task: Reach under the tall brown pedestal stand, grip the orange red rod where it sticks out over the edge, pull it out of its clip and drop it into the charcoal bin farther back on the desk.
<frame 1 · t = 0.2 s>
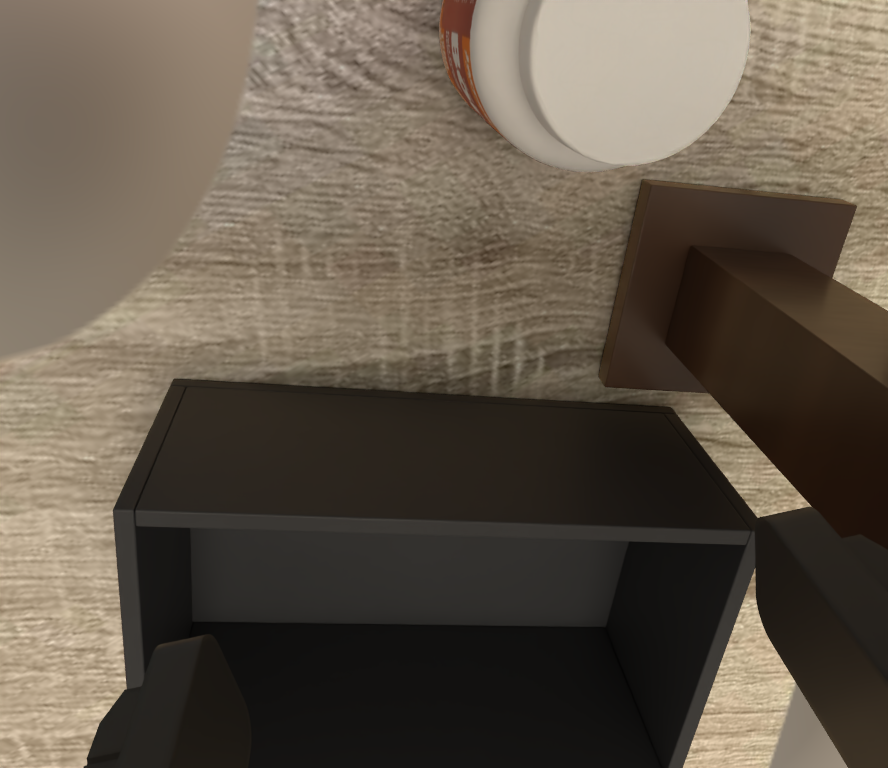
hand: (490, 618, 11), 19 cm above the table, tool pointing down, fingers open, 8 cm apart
bin: (418, 518, 34), on the table
pill bottle: (528, 29, 26), on the table
brown pedestal stand: (643, 285, 30), on the table
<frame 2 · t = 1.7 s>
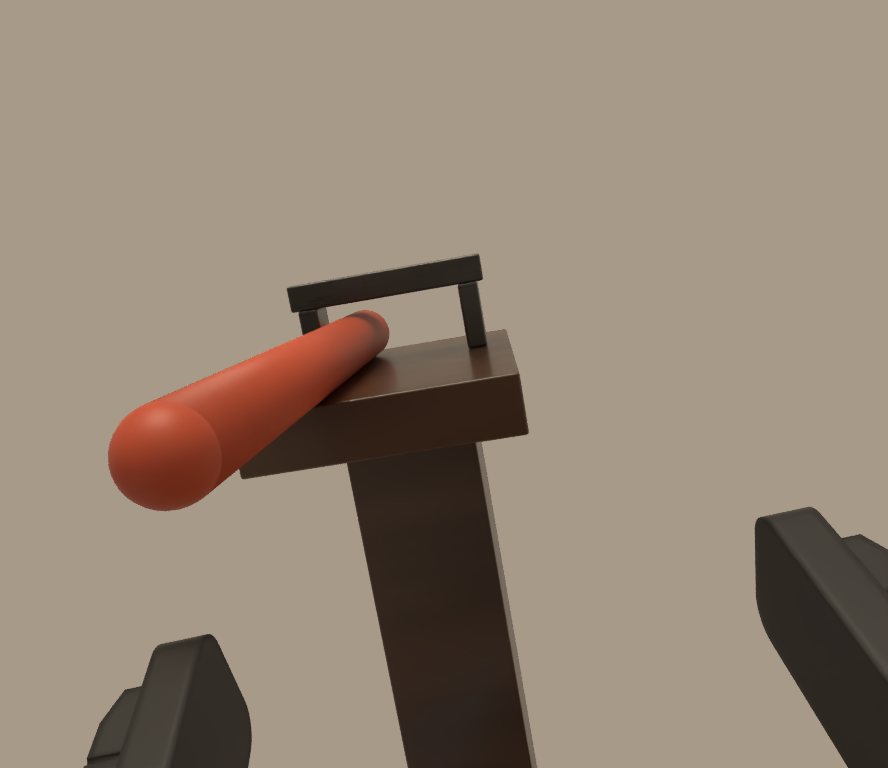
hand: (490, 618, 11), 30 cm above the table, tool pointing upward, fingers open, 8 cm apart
orange red rod: (331, 350, 19), point 33 cm above the table, tilted 118°, touching brown pedestal stand
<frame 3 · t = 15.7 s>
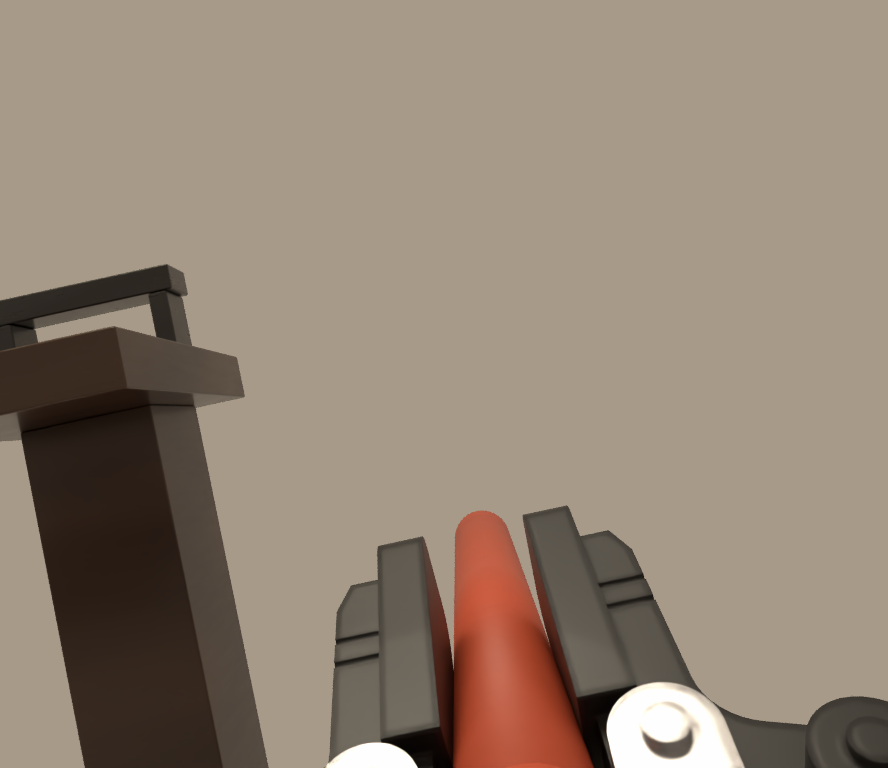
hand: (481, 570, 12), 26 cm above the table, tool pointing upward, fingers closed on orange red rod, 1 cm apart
orange red rod: (501, 654, 15), point 23 cm above the table, touching gripper
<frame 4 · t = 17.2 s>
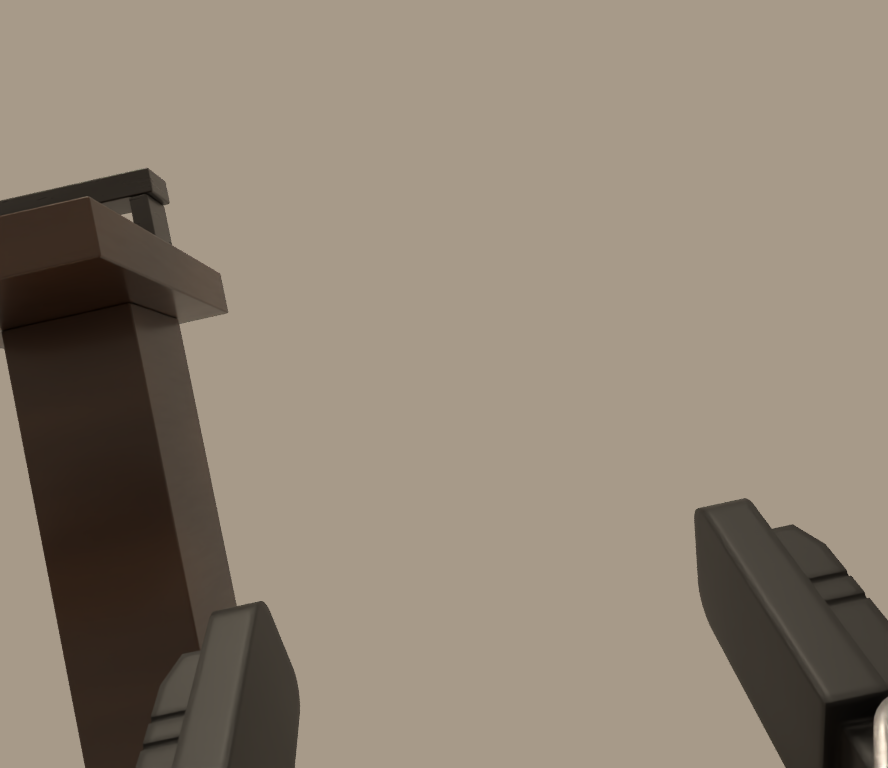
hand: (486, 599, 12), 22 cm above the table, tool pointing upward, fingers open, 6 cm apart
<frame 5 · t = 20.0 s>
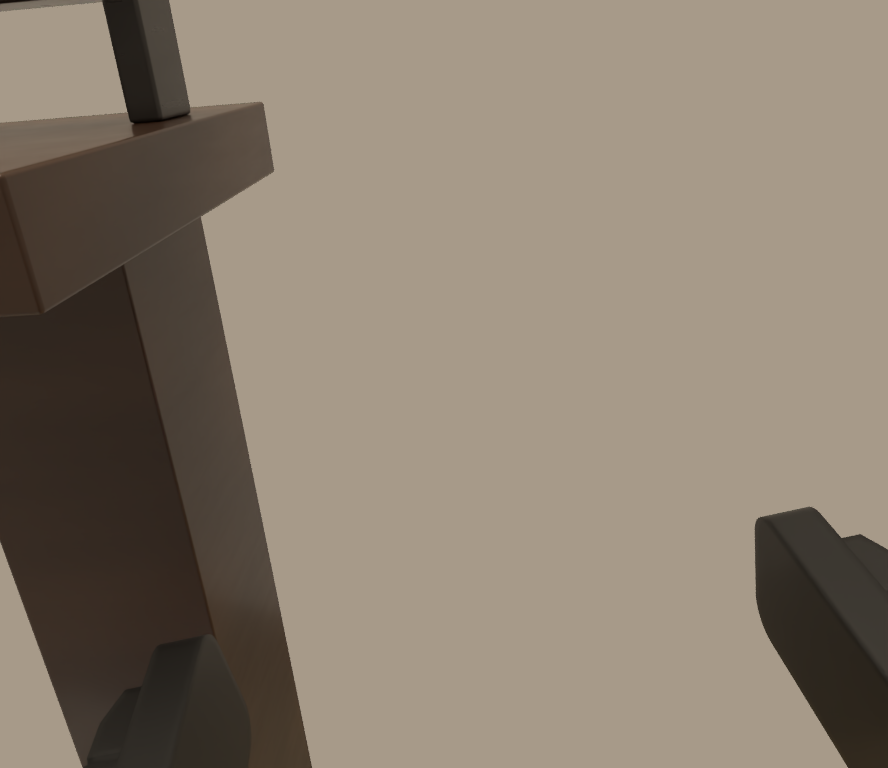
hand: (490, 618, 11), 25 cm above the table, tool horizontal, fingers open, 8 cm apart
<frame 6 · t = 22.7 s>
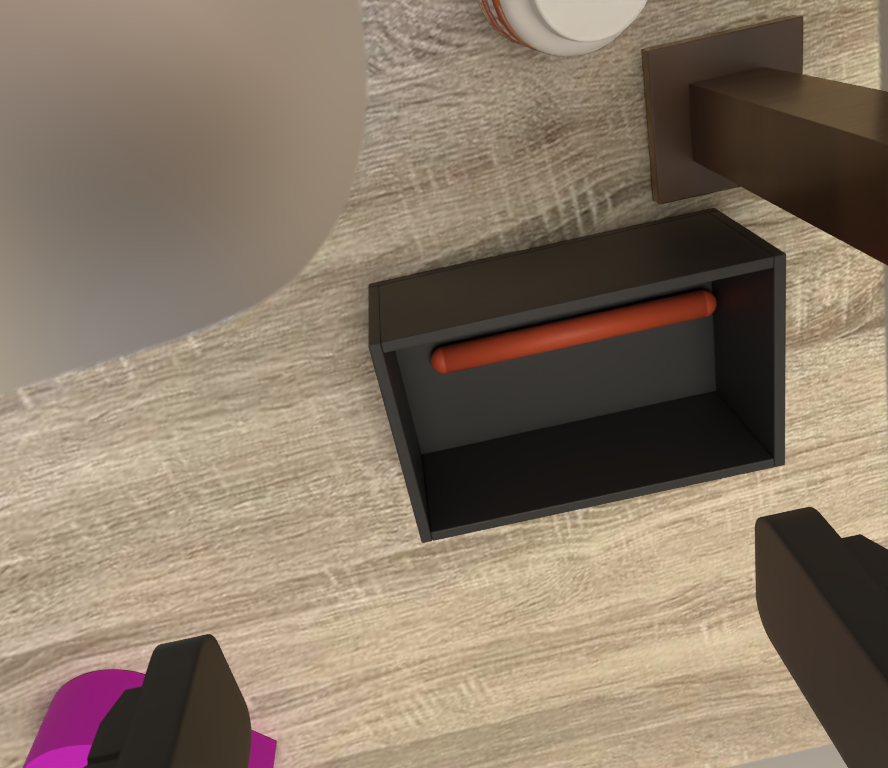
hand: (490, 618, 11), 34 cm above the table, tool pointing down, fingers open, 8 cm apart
bin: (554, 341, 47), on the table
brown pedestal stand: (665, 124, 42), on the table
orange red rod: (571, 334, 46), point 1 cm above the table, tilted 34°, touching bin
tape dispenser: (157, 731, 60), on the table
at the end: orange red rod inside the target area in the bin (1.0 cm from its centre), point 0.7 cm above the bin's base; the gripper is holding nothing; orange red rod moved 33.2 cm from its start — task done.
